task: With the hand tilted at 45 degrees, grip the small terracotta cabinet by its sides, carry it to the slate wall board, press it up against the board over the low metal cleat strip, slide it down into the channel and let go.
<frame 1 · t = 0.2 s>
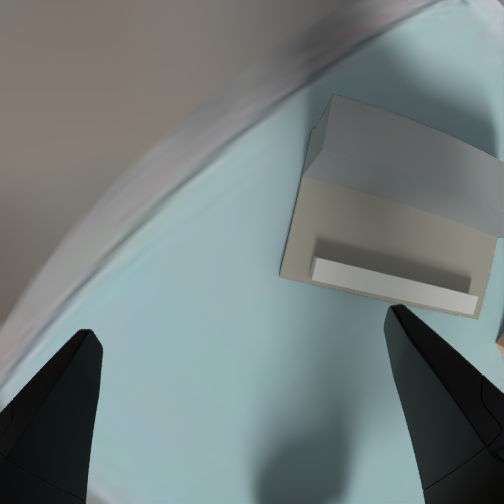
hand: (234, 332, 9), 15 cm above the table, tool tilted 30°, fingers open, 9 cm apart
wall board: (405, 240, 23), on the table
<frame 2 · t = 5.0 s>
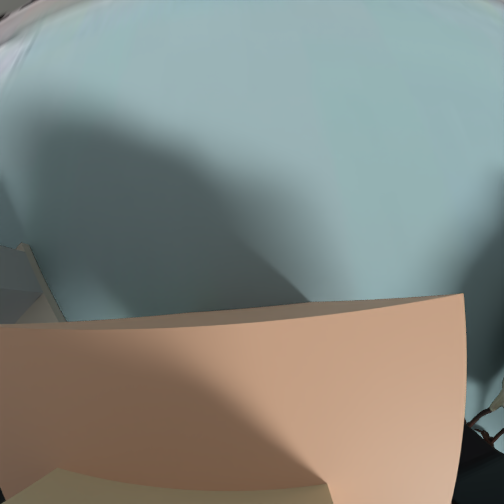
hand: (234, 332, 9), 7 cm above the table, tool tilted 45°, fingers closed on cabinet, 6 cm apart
wall board: (1, 395, 15), on the table
cabinet: (252, 348, 15), on the table, touching gripper
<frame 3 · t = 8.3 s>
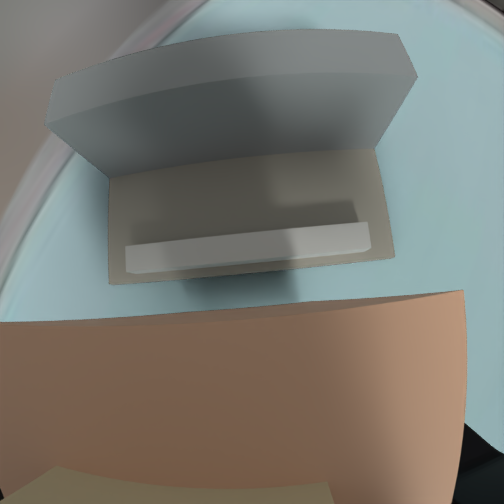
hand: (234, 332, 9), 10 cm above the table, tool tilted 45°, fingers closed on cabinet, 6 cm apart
wall board: (242, 198, 20), on the table
cabinet: (252, 348, 15), point 4 cm above the table, touching gripper
when the fingers open (8 cm above the table, at t = 11.5 s): cabinet stays where it is, resting on wall board.
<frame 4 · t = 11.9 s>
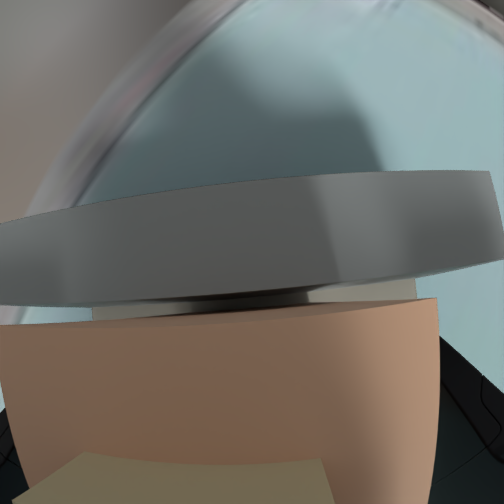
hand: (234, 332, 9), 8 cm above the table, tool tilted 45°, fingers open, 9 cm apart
wall board: (253, 344, 17), on the table
cabinet: (253, 347, 16), point 1 cm above the table, touching wall board
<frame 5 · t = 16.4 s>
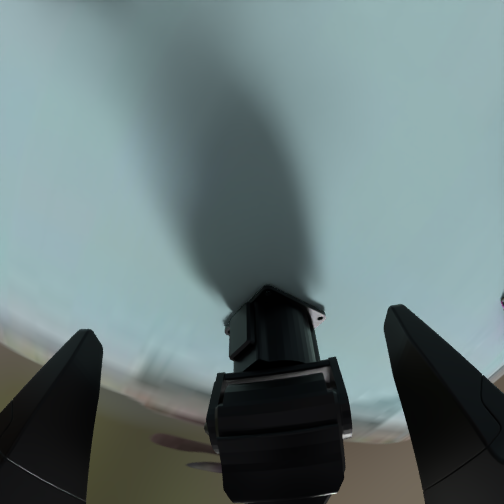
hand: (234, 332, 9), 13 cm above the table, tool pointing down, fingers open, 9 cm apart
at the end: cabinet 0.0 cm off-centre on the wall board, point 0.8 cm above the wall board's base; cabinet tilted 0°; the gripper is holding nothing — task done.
